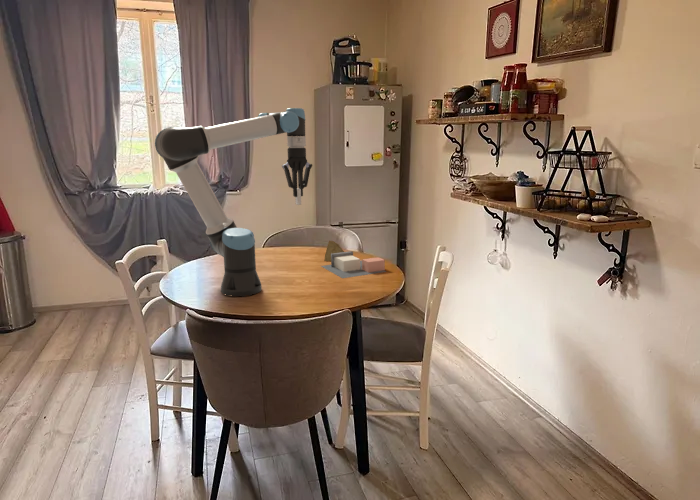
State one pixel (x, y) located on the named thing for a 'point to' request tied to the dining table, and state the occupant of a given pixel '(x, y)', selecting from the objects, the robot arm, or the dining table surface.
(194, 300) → the dining table surface
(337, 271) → the mat
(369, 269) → the stub
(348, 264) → the clamped cream block
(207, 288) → the dining table surface
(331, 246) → the rock
